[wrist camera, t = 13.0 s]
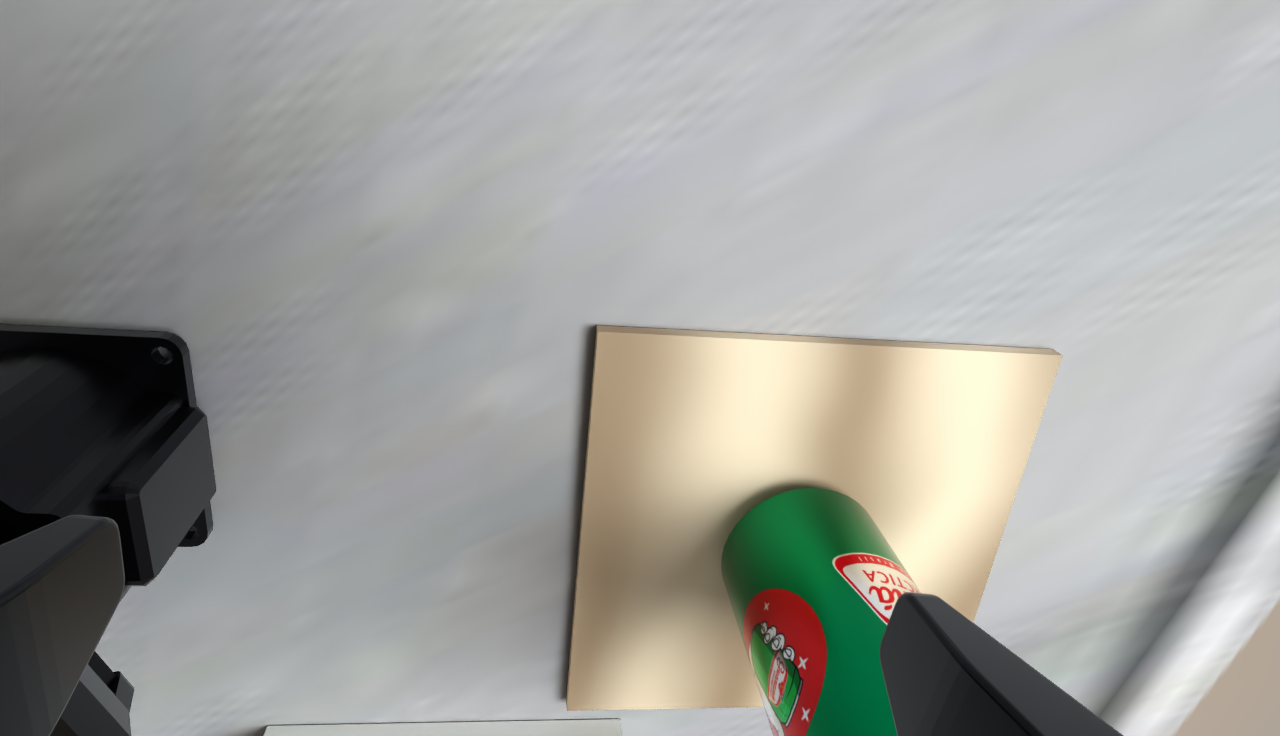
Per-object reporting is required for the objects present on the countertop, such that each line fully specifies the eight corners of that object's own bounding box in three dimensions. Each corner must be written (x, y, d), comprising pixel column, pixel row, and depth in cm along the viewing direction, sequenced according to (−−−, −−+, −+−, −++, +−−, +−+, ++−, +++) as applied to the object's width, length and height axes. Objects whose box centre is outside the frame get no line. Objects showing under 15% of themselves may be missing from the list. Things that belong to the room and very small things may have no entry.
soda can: (899, 545, 26) (1161, 930, 15) (777, 631, 27) (939, 1054, 16) (813, 447, 24) (1041, 807, 13) (685, 544, 25) (796, 957, 14)
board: (566, 698, 27) (566, 710, 27) (596, 325, 22) (597, 331, 21) (939, 693, 29) (945, 703, 29) (1052, 349, 24) (1062, 355, 23)
